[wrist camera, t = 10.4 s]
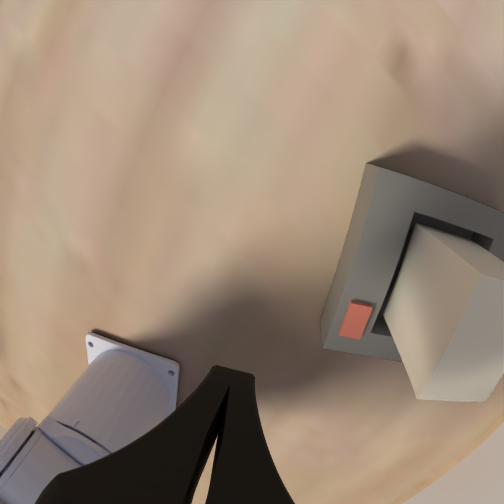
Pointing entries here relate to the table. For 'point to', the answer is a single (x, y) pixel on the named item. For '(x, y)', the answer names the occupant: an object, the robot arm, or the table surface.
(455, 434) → the table surface
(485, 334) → the plug
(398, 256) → the socket
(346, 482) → the table surface
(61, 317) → the table surface
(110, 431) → the robot arm
